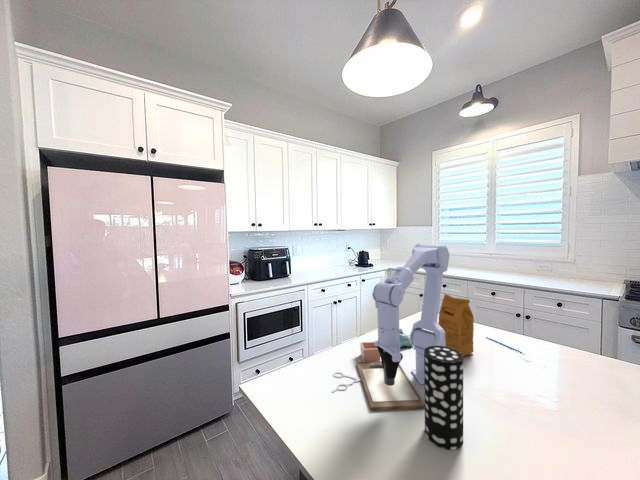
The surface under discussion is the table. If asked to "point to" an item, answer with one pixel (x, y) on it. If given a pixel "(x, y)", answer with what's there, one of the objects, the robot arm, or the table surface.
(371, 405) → the clipboard
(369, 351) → the pen cup
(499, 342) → the grey thin rod
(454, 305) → the coffee package
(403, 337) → the stuffed animal
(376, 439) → the table surface
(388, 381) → the marker
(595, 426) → the table surface
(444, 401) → the white-spotted black cylinder
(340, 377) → the scissors
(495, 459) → the table surface
